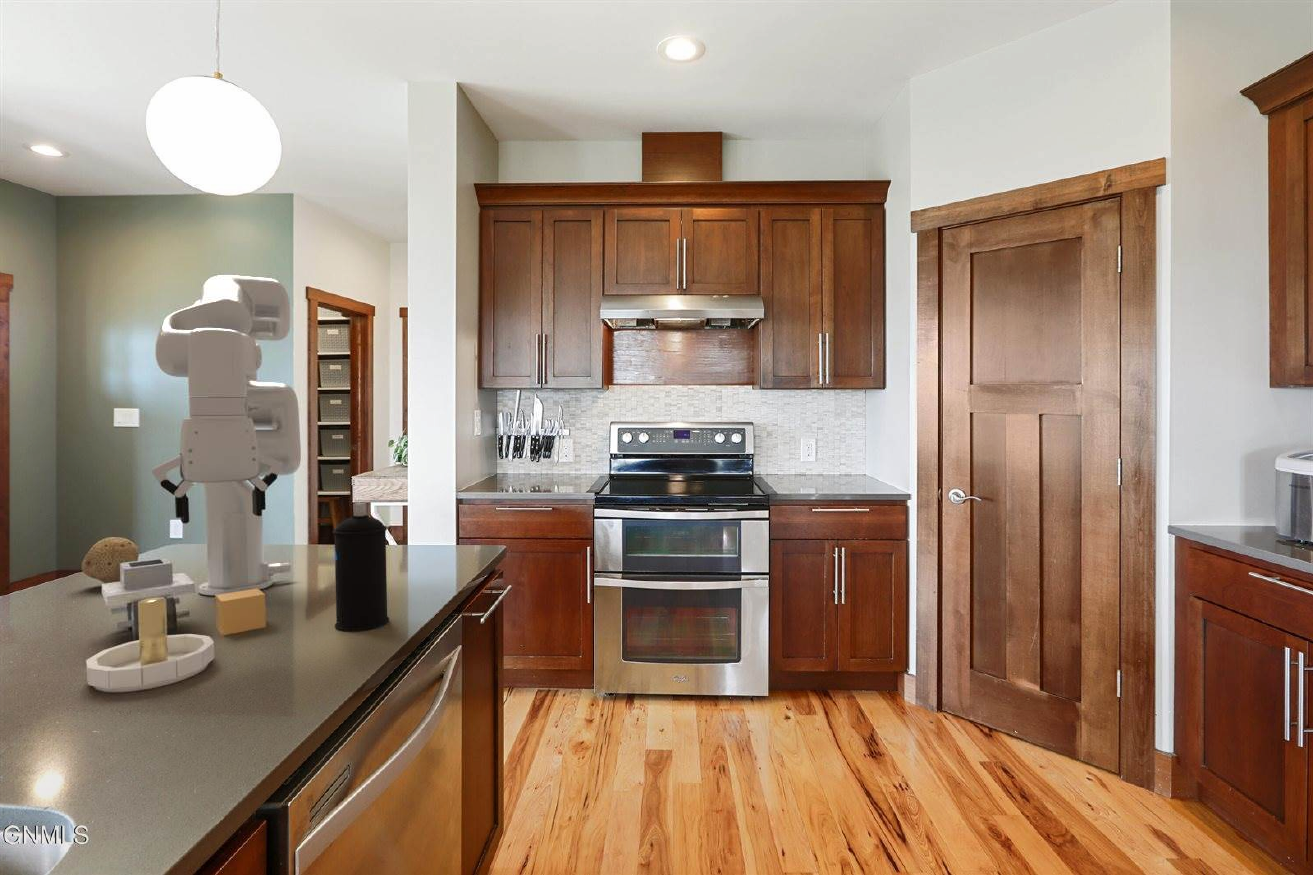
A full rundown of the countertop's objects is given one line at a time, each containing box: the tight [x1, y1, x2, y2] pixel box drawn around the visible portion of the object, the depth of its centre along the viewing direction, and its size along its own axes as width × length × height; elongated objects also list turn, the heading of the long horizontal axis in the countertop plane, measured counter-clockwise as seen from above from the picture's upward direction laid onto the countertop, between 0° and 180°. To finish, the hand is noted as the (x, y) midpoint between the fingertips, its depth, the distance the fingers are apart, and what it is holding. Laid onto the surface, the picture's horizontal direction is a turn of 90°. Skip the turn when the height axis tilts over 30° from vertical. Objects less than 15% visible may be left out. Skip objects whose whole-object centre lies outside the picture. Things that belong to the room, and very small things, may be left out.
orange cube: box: [214, 588, 267, 636], centre depth 109 cm, size 6×5×6 cm
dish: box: [85, 633, 215, 693], centre depth 90 cm, size 13×13×3 cm
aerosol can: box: [332, 502, 390, 632], centre depth 110 cm, size 8×8×20 cm
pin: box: [138, 597, 168, 666], centre depth 90 cm, size 3×3×9 cm
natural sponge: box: [81, 536, 140, 584], centre depth 135 cm, size 9×9×10 cm
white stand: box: [101, 557, 196, 641], centre depth 107 cm, size 11×16×10 cm
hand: (222, 518), depth 104 cm, fingers open, 9 cm apart
